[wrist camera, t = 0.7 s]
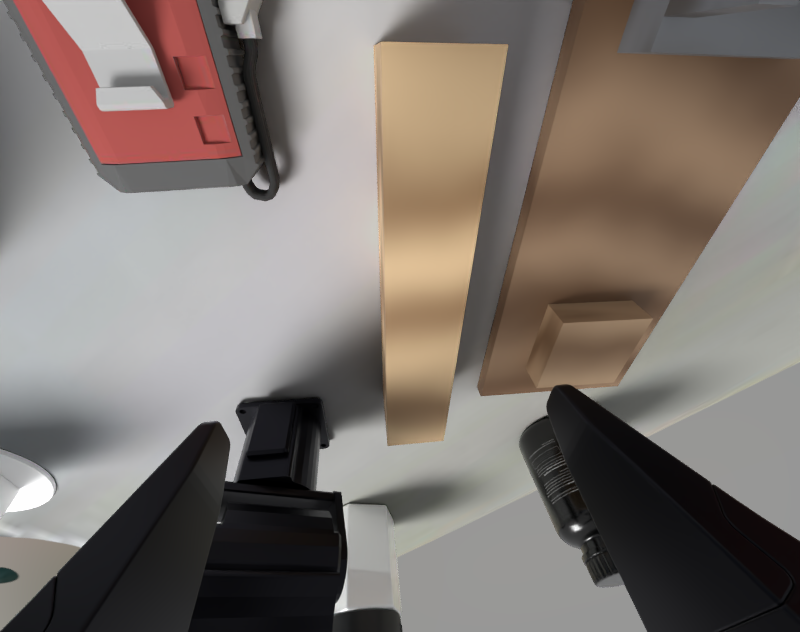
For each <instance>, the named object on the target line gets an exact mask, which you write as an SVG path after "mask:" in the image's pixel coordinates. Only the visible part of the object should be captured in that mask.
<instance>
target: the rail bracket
mask: <svg viewBox="0 0 800 632" xmlns="http://www.w3.org/2000/svg"><path fill="white" fill-rule="evenodd" d="M799 97H800V0H573V3H572V7H571V11H570V15H569V19H568V23H567V27H566V31H565V35H564V39H563V43H562V47H561V51H560V55H559V59H558V63H557V67H556V71H555V75H554V79H553V83H552V87H551V91H550V95H549V99H548V103H547V107H546V111H545V116H544V120H543V124H542V128H541V132H540V136H539V140H538V144H537V148H536V152H535V156H534V160H533V164H532V168H531V172H530V176H529V180H528V184H527V188H526V192H525V196H524V200H523V204H522V208H521V212H520V216H519V220H518V224H517V228H516V232H515V236H514V240H513V245H512V249H511V253H510V257H509V261H508V265H507V269H506V273H505V277H504V281H503V285H502V289H501V293H500V297H499V301H498V305H497V309H496V313H495V317H494V321H493V325H492V329H491V333H490V337H489V341H488V345H487V349H486V353H485V357H484V361H483V365H482V369H481V373H480V378H479V382H478V386H477V387H478V390H479V393H480V395H481V396H490V395H503V394H516V393H530V392H543V391H552V388H553V387H554V386H555V385H562V384H569V385H572V386H573V387H575V388H576V389H583V388H597V387H610V386H618V385H619V383H620V381H621V380H622V378H623V377H624V375H625V373H626V372H627V370H628V369H629V367H630V365H631V364H632V362H633V361H634V359H635V358H636V356H637V354H638V353H639V351H640V350H641V348H642V346H643V345H644V343H645V342H646V340H647V338H648V337H649V335H650V334H651V332H652V331H653V329H654V327H655V326H656V324H657V323H658V321H659V319H660V318H661V316H662V315H663V313H664V311H665V310H666V308H667V307H668V305H669V304H670V302H671V300H672V299H673V297H674V296H675V294H676V292H677V291H678V289H679V288H680V286H681V284H682V283H683V281H684V280H685V278H686V277H687V275H688V273H689V272H690V270H691V269H692V267H693V265H694V264H695V262H696V261H697V259H698V257H699V256H700V254H701V253H702V251H703V250H704V248H705V246H706V245H707V243H708V242H709V240H710V238H711V237H712V235H713V234H714V232H715V230H716V229H717V227H718V226H719V224H720V223H721V221H722V219H723V218H724V216H725V215H726V213H727V211H728V210H729V208H730V207H731V205H732V203H733V202H734V200H735V199H736V197H737V196H738V194H739V192H740V191H741V189H742V188H743V186H744V184H745V183H746V181H747V180H748V178H749V176H750V175H751V173H752V172H753V170H754V169H755V167H756V165H757V164H758V162H759V161H760V159H761V157H762V156H763V154H764V153H765V151H766V149H767V148H768V146H769V145H770V143H771V142H772V140H773V138H774V137H775V135H776V134H777V132H778V130H779V129H780V127H781V126H782V124H783V122H784V121H785V119H786V118H787V116H788V115H789V113H790V111H791V110H792V108H793V107H794V105H795V103H796V102H797V100H798V99H799Z"/></svg>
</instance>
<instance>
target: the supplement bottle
mask: <svg viewBox="0 0 800 632" xmlns="http://www.w3.org/2000/svg"><path fill="white" fill-rule="evenodd" d="M519 447H520V450H521V453H522V455H523V458H524V460H525V462H526V465H527V467H528V469H529V471H530V474H531V476H532V478H533V480H534V483H535V485H536V487H537V489H538V491H539V494H540V496H541V498H542V501H543V503H544V505H545V507H546V509H547V512H548V514H549V516H550V519H551V521H552V523H553V525H554V527H555V529H556V532H557V534H558V535H559V537H560V538H561V539H562V540H563V541H564V542H565V543H567V544H568V545H570V546H572V547H575V548H578V549H581V550H582V553H583V556H582V560H583V562H584V564H585V566H587V569H588V571H589V573H590V575H591V578H592V579H593V582H594V583H595V585H596V586H597V587H602V588H604V587H614V586H619V585H624V583H623V580H622V578H621V576H620V574H619V572H618V570H617V568H616V566H615V564H614V562H613V560H612V558H611V556H610V554H609V552H608V549H607V547H606V545H605V543H604V541H603V539H602V537H601V535H600V533H599V531H598V529H597V527H596V525H595V523H594V521H593V518H592V516H591V514H590V512H589V510H588V508H587V506H586V504H585V502H584V500H583V498H582V496H581V494H580V492H579V490H578V487H577V485H576V483H575V481H574V479H573V477H572V475H571V473H570V471H569V469H568V466H567V464H566V462H565V459H564V457H563V454H562V451H561V449H560V446H559V443H558V440H557V438H556V435H555V432H554V429H553V427H552V424H551V421H550V418H549V417H548V418H545V419H542V420H540V421H538V422H536V423H534V424H533V425H531V426H530V427H529V428H528V429H526V430H525V431H524V433H523V434H522V436H521V438H520V441H519Z"/></svg>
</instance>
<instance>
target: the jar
mask: <svg viewBox="0 0 800 632" xmlns="http://www.w3.org/2000/svg"><path fill="white" fill-rule="evenodd" d="M343 512H344V521H345V529H346V538H347V549H348V560H347V571H346V578H345V583H344V587H343V590H342V594H341V596H340V598H339V600H338V602H337V603H335V610H334V618H333V629H332V632H402V625H401V619H400V617H401V616H402V612H401V599H400V588H399V577H398V565H397V554H396V542H395V531H394V521H393V519H392V517H391V515H390V513H389V511H388V509H387V507H386V505H375V504H350V503H349V504H347V505H345V506H343Z"/></svg>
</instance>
